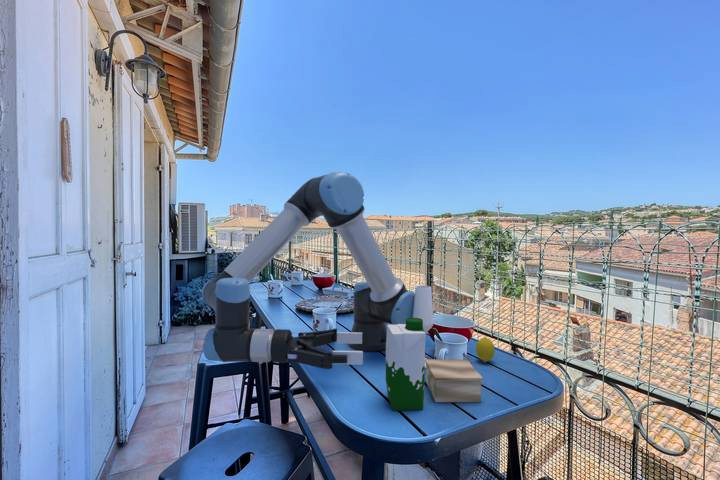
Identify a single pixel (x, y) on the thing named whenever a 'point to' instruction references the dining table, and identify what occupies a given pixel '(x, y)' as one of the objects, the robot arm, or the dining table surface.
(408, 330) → the fresh milk carton
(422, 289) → the champagne flute
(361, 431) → the dining table surface
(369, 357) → the dining table surface
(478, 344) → the lemon
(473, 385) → the oak riser
